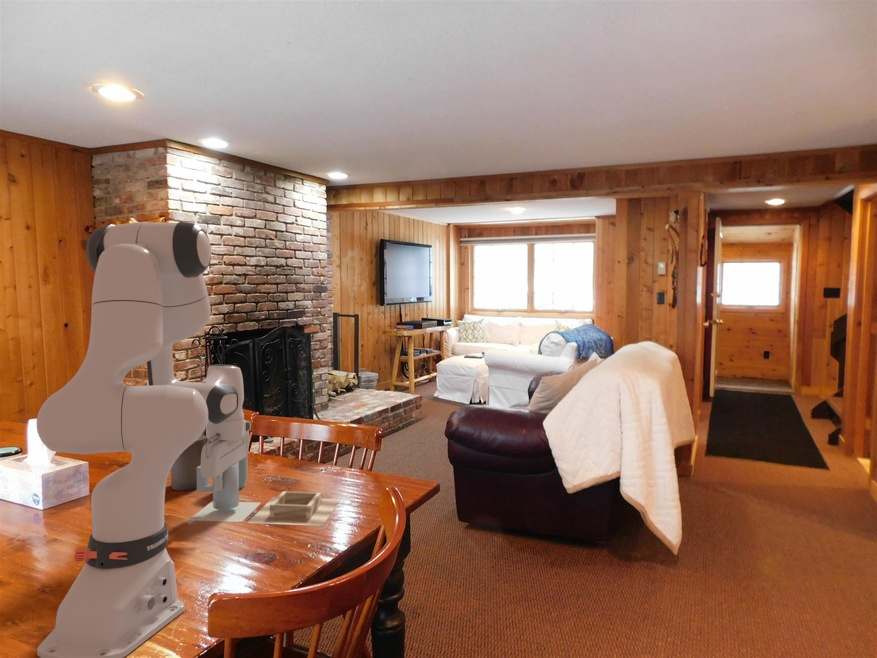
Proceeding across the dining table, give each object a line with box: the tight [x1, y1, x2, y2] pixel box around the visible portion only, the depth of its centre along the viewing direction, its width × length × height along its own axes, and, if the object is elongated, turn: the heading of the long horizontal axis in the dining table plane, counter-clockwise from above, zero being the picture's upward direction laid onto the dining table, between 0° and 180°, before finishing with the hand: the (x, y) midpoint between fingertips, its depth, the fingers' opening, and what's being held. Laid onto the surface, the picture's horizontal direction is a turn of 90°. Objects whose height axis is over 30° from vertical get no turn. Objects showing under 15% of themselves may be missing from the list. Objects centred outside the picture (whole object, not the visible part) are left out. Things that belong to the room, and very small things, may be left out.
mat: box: [187, 500, 262, 525], centre depth 147 cm, size 13×13×1 cm
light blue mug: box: [196, 463, 240, 510], centre depth 147 cm, size 6×10×10 cm, turn 86°
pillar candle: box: [170, 434, 207, 491], centre depth 169 cm, size 10×10×15 cm
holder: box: [247, 490, 341, 527], centre depth 148 cm, size 18×18×4 cm
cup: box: [239, 455, 248, 490], centre depth 165 cm, size 8×8×10 cm
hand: (225, 485), depth 147 cm, fingers closed on light blue mug, 6 cm apart
